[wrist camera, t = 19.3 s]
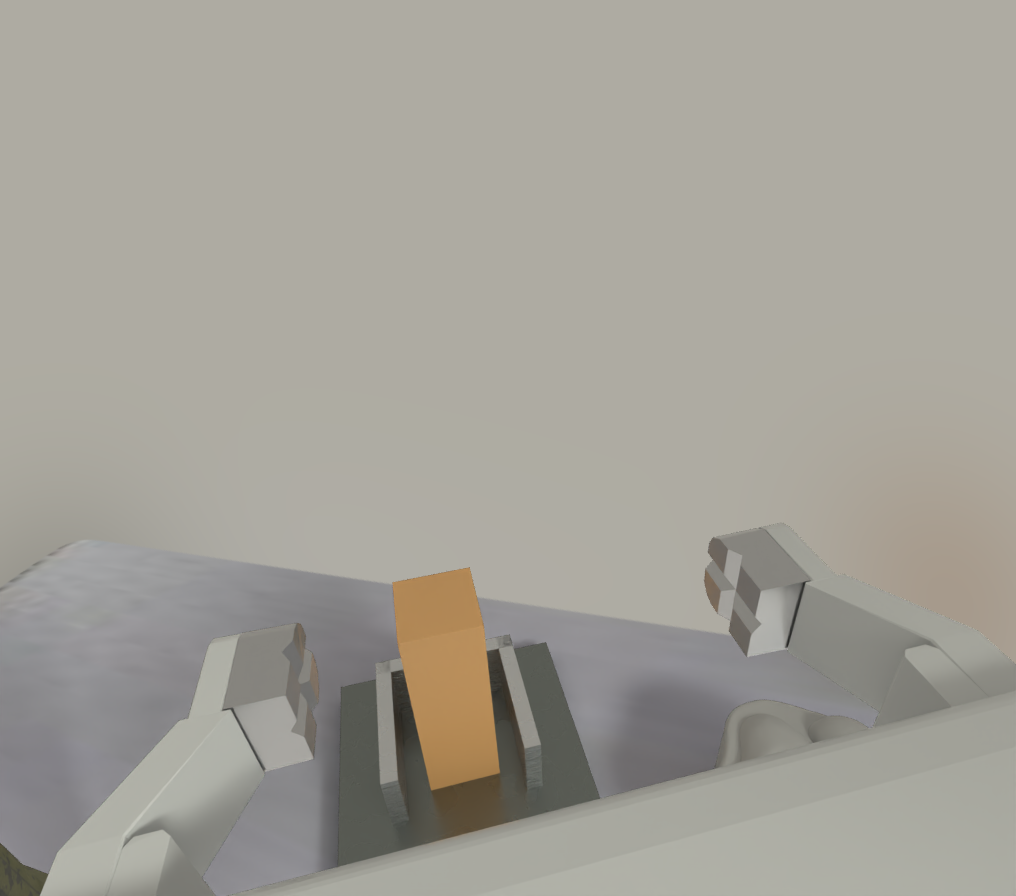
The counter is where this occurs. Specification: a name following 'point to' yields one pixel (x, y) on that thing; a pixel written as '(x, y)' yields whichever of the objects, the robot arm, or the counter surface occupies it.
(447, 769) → the tall orange pillar
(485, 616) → the counter surface
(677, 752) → the counter surface
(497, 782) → the grey rail base plate
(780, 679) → the counter surface
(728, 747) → the lumpy-topped squat cylinder
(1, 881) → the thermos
